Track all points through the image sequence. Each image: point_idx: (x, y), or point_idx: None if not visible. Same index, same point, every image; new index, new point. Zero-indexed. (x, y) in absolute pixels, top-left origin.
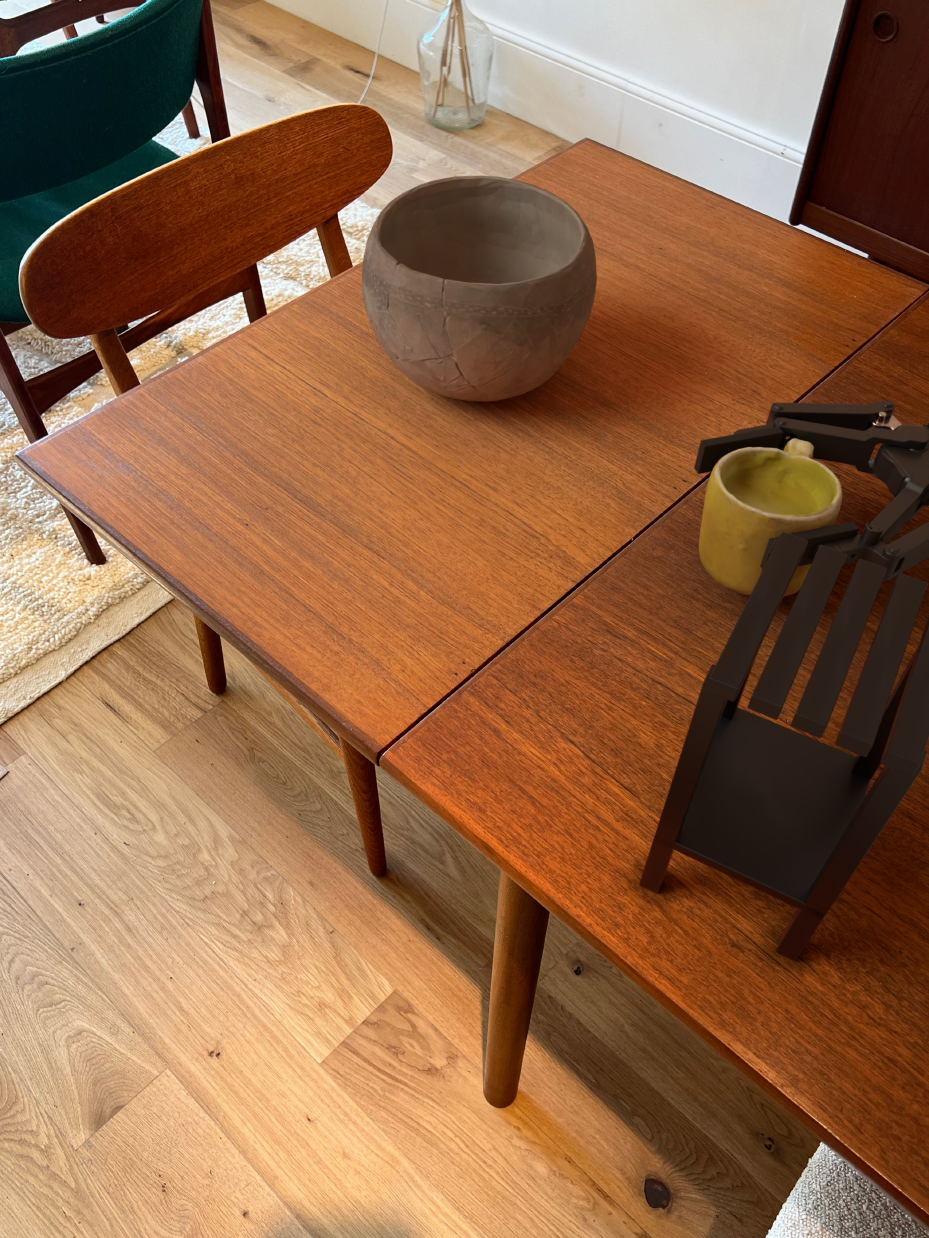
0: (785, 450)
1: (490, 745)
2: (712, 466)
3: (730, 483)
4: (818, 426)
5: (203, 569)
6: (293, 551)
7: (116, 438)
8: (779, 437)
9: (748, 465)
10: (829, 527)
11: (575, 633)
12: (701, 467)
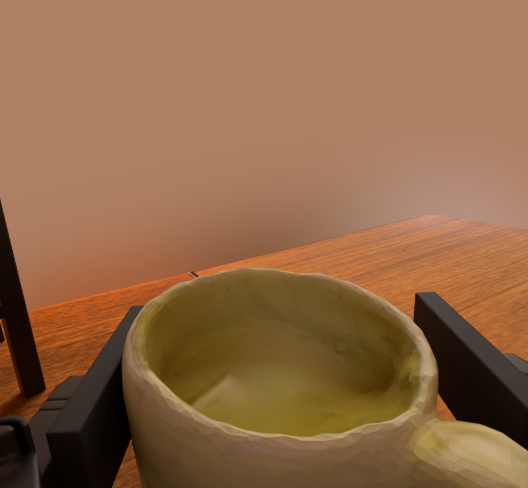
0: (456, 420)
1: None
2: None
3: (368, 366)
4: None
5: (347, 239)
6: (362, 255)
7: (457, 223)
8: (518, 417)
9: (397, 364)
10: (105, 377)
11: None
12: None
